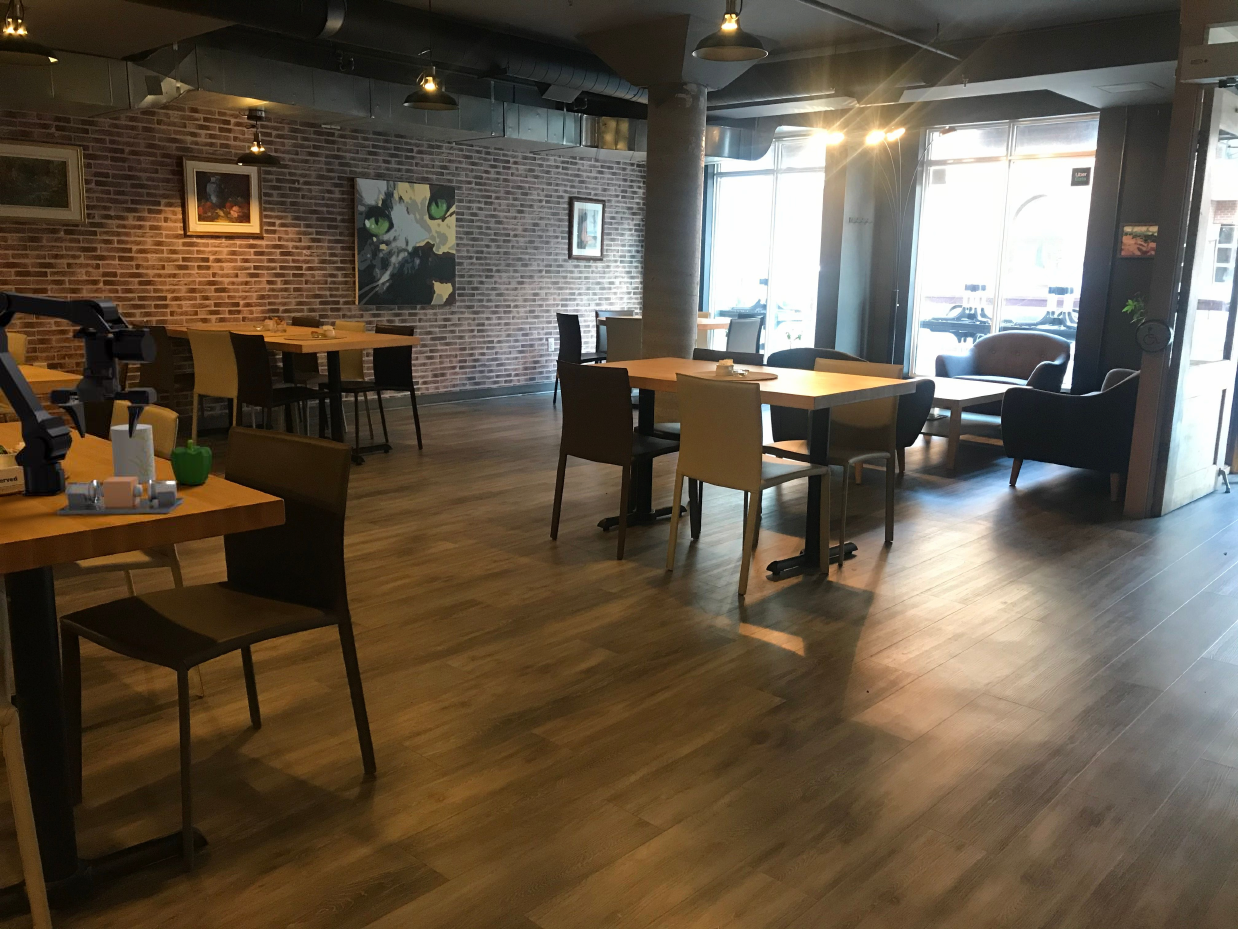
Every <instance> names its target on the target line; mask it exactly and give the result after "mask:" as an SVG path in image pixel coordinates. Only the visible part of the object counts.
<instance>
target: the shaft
mask: <svg viewBox="0 0 1238 929" xmlns="http://www.w3.org/2000/svg"><path fill="white" fill-rule="evenodd" d="M146 484H147V488H146V489H147V498H148V500H149V502H153V500H158V506H161V505H175V503H176V498H178V489H177V488H178V487H177V481H176V479H175V480H154V481H152V479H148V482H147V483H146Z"/></svg>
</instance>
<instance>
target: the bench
mask: <svg viewBox="0 0 1238 929" xmlns="http://www.w3.org/2000/svg"><path fill="white" fill-rule="evenodd" d="M101 486H102V484H101V482H100V480H99V479H92V480H91V481H86V482H85V481H84V482H83V481H79V482H75V481H73V482H67V483H66V489H65V498H66V500H67V501H68V502H67V504H66V505H65V506H63V507H61V508H60V509H58V510H56V511H57V515H58V516H61V515H62V516H64V515H66V516H67V515H69V516H74V515H76V514H77V515H78V514H83V515H136V514H137V515H138V514H139V513H155V514H171V512H173V511H174V510H176V508H178V507H179V506H180V505H182V503H183V504H184V500H185V499H184V497H177V498H176V503H175V505H161V506H158V500H153V502H149V500H148V497H145V498H143V497H140V501H139V502H138V503H137V504H135V505H134V506H132V507H105V504H104V498H102V497H101V495H100V488H101ZM77 515H76V516H77ZM139 515H140V514H139Z"/></svg>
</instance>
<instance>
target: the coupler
mask: <svg viewBox="0 0 1238 929" xmlns="http://www.w3.org/2000/svg"><path fill="white" fill-rule="evenodd" d="M143 491H144V490H143V485H142V484H139V483H138V477H114V476H111V477H108V478H107V479H105V480H103V481H102V484H101V488H100V495H101V498H103V499H104V504H105V507H132V506H134V505H135V504H137V503H138V502H139V501H140V498H142V496H143Z"/></svg>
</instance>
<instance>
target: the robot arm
mask: <svg viewBox="0 0 1238 929" xmlns="http://www.w3.org/2000/svg"><path fill="white" fill-rule="evenodd" d="M17 314H23V315H31V316H32V315H33V316H39V317H46V318H56V319H61V320H65V321H66V322H68V323H69V322H70V324H73V325H77V326H79V329H78V330H77V331H76V332H75V333H74V334H72V336H71V338H72V339H73V340H75V339H76V340H83V349H84V350H83V351H84V360H85V361H84V362H85V367H83V376H82V378H81V379H79V381H78V383H77V384H76V385H75V387H58V388H54V389H52V390H51V391H50V392H49V396H48V397H49V405H57V408H58V409H62V410H63V411H65V412H66V414H67V415H69V418H71V420H72V423H73V424H74V426H75V428H76V431H77V432H78V435H79V437H80V438H81V439H84V438H86V420H85V410H84V403H87V402H95V403H103V402H105V401H128V402H129V403H130V404H129V405H126V409H127V412H128V425H129V428H128V431H129V438H133V436H134V433H135V430H136V427H137V424H139V421H140V418H141V416H142V415H143V412H144V410H145V408H146V407H147V408H148V407H149V406H151V404H154V403H155V402H158V397H157V391H156V390H155V389H154V387H134V388H132V389H129V390H128V391H122V386H121V385H120V382H119V380H120V379H119V372H120V365H118V361H120V362H121V363H135V364H137V363H139V364H140V363H143V364H145V363H146V364H151V363H153V362H154V361H155V359H156V357H157V352H158V348H157V344H156V342H155V338H154V337H153V336H152V335H151V334H150V331H151V330H150V329H149V328H139V329H132V328H131V327H130V325H129V324H128V323H127V321H126V320H125V319H124V318H123V316H122V315H121V314H120V312H119V309H118V306H117V305H116V304H115V302H114V301H113V300H111V299H108V298H88V299H87V298H86V299H85V298H84V299H63V298H56V297H55V298H54V297H48V296H40V295H33V294H27V293H26V294H24V293H19V292H16V291H0V390H1V392H2V393H3V395H4V396H5V398H6V400H7V401H8V403H9V405H10V406H11V409H13V411H14V413H15V415H16V416H17V417H18V419H19V421H20V425H21V433H20V434H21V438H22V441H23V443H24V446H23V447H22V448H21V449H20V450H19V451H18V452H17V454H15V455H14V460H15V463H16V465H17V467H20V468H22V472H23V473H22V474H23V483H24V491H23V492H21V495H22V496H55V495H58V494H60V493H61V492H63V491H66V486H67V483H66V475H65V474H66V472H65V468H62V467H63V466H62V461H64V460H66V458H67V454H68V451H70V449H71V448H72V443H73V437H72V435H71V433H72V432H73V430H71V429H70V428H69V426H68V425H67V423H66V422H65V419H64V417H63V416H62V415H55V416H52V415H51V414H50V413H48V412H47V411H46V410H45V408H44V407H43V405H42V403H41V401H40V400H39V398H38V397H37V395H36V394H35V392H34V391H33V388H32V387H31V385H30V384H29V382H28V381H27V378H26V377H25V376H24V373H23V372H22V370H21V368H20V367H19V365H18V364H17V362H16V361H15V359H14V357H13V356H12V354H11V353H10V350H9V336H8V333H7V331H6V328H7V327H8V326H9V325H10V324H11V323H12V322H13V320H14V318H15V317H16V315H17ZM91 329H93V330H91Z"/></svg>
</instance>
